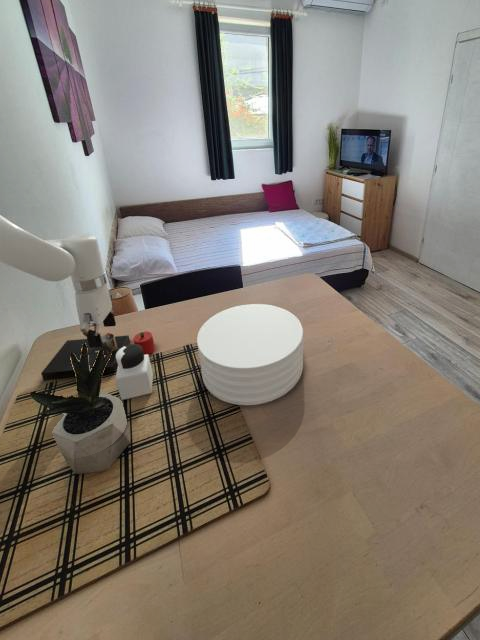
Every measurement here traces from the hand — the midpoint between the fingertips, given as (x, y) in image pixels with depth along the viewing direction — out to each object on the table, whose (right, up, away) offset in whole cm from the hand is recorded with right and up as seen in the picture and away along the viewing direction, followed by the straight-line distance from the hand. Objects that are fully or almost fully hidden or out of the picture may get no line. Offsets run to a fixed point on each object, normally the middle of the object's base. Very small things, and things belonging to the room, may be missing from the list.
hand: (103, 335), depth 92 cm
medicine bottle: (+13, -12, -7) cm, 19 cm away
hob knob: (0, -5, +3) cm, 6 cm away
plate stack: (+42, -8, 0) cm, 43 cm away
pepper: (+9, -6, +6) cm, 13 cm away
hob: (-5, -8, +3) cm, 10 cm away
